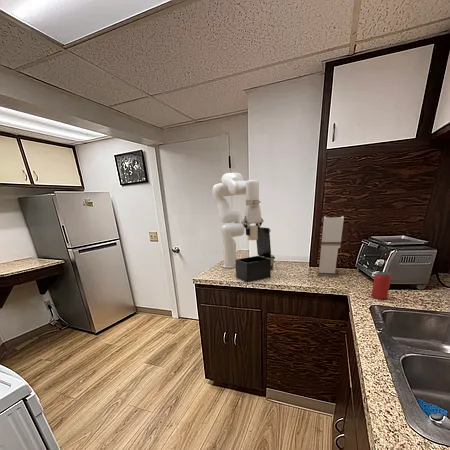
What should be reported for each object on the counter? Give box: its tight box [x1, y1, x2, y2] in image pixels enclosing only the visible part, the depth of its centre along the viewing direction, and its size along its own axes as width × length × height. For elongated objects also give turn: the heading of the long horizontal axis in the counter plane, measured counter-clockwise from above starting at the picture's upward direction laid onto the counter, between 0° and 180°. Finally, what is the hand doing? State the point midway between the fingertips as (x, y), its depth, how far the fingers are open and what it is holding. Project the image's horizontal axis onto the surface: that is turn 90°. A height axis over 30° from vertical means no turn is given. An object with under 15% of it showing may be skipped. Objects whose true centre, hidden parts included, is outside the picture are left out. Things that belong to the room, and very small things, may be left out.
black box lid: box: [255, 226, 272, 258], centre depth 157 cm, size 19×14×5 cm
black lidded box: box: [235, 255, 272, 283], centre depth 159 cm, size 18×14×12 cm
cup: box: [247, 224, 258, 241], centre depth 151 cm, size 6×6×8 cm
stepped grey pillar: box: [318, 215, 345, 278], centre depth 153 cm, size 11×11×35 cm
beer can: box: [371, 271, 392, 300], centre depth 118 cm, size 7×7×12 cm
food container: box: [261, 254, 276, 271], centre depth 176 cm, size 12×6×10 cm, turn 84°
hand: (252, 234), depth 151 cm, fingers closed on cup, 6 cm apart
